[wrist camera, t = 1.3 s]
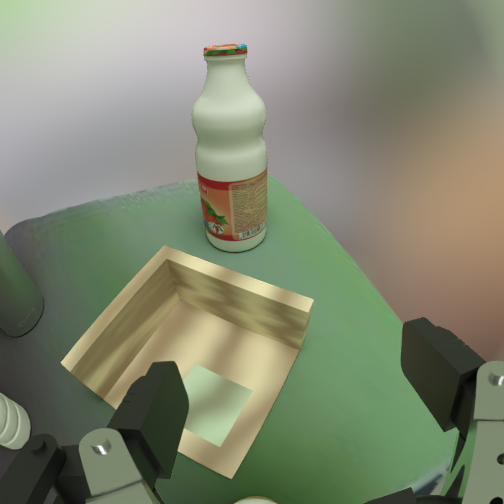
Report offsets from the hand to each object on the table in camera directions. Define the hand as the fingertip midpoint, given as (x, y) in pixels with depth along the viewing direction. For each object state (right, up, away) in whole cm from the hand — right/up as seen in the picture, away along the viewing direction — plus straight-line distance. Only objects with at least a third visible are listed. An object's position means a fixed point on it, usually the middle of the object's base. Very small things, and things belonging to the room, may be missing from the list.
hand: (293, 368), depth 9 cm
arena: (-7, -9, +21) cm, 24 cm away
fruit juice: (-4, +7, +38) cm, 38 cm away
